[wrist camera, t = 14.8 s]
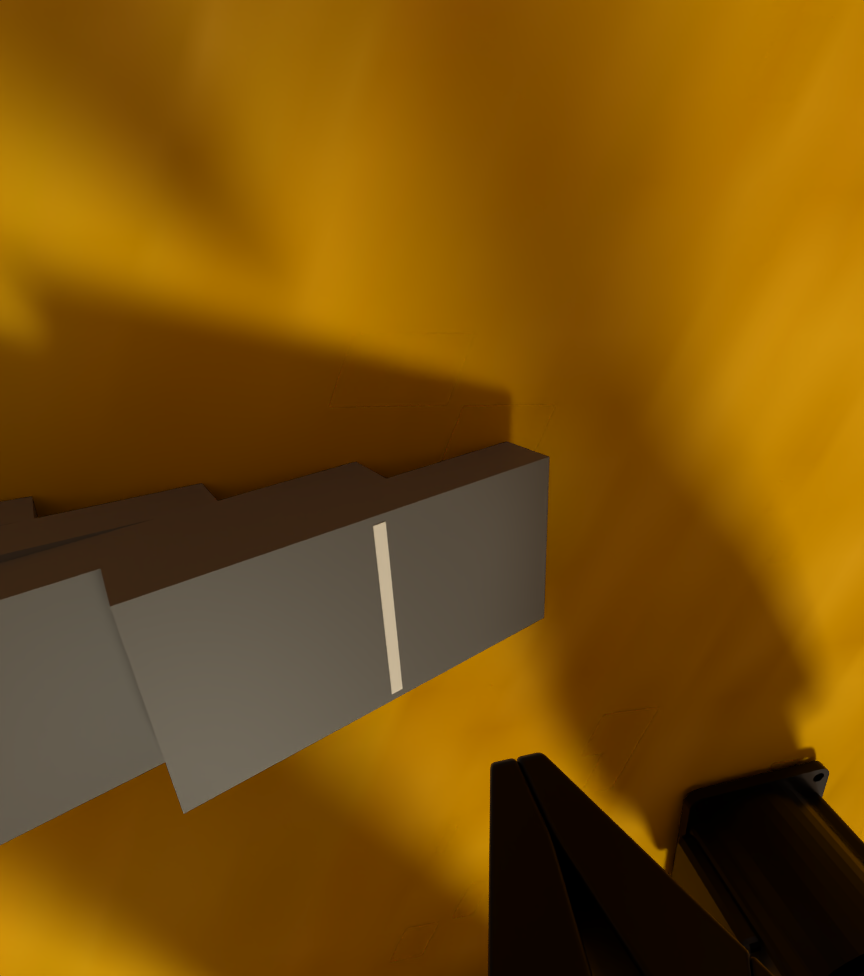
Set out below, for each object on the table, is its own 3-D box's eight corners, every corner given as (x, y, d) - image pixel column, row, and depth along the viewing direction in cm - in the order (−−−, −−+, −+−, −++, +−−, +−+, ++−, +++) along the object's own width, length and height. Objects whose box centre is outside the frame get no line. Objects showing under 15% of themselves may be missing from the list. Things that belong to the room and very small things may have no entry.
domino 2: (550, 456, 14) (109, 607, 9) (544, 617, 16) (183, 814, 11) (506, 441, 15) (99, 565, 10) (506, 592, 17) (167, 758, 12)
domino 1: (387, 478, 13) (-187, 658, 8) (403, 643, 15) (-49, 870, 10) (355, 461, 15) (-160, 607, 9) (374, 615, 17) (-42, 805, 11)
